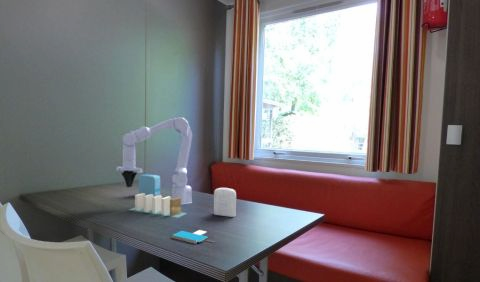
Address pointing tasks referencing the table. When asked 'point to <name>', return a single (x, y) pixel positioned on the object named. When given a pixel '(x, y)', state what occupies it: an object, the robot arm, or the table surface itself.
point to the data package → (149, 184)
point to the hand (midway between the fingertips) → (129, 186)
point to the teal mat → (160, 213)
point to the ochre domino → (175, 206)
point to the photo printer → (225, 202)
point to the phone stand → (192, 236)
